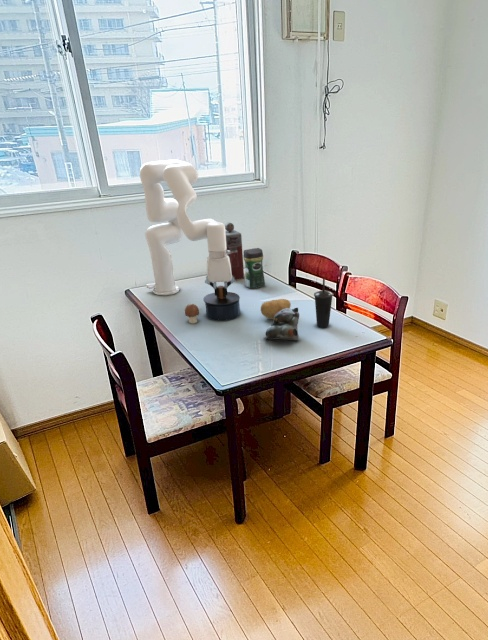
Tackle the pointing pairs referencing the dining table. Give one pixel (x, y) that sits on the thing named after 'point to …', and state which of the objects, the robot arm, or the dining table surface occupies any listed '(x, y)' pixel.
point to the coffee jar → (254, 268)
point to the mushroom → (192, 312)
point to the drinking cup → (323, 306)
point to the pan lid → (221, 297)
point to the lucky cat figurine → (284, 325)
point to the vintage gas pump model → (234, 251)
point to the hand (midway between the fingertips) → (221, 296)
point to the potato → (274, 307)
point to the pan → (223, 311)
